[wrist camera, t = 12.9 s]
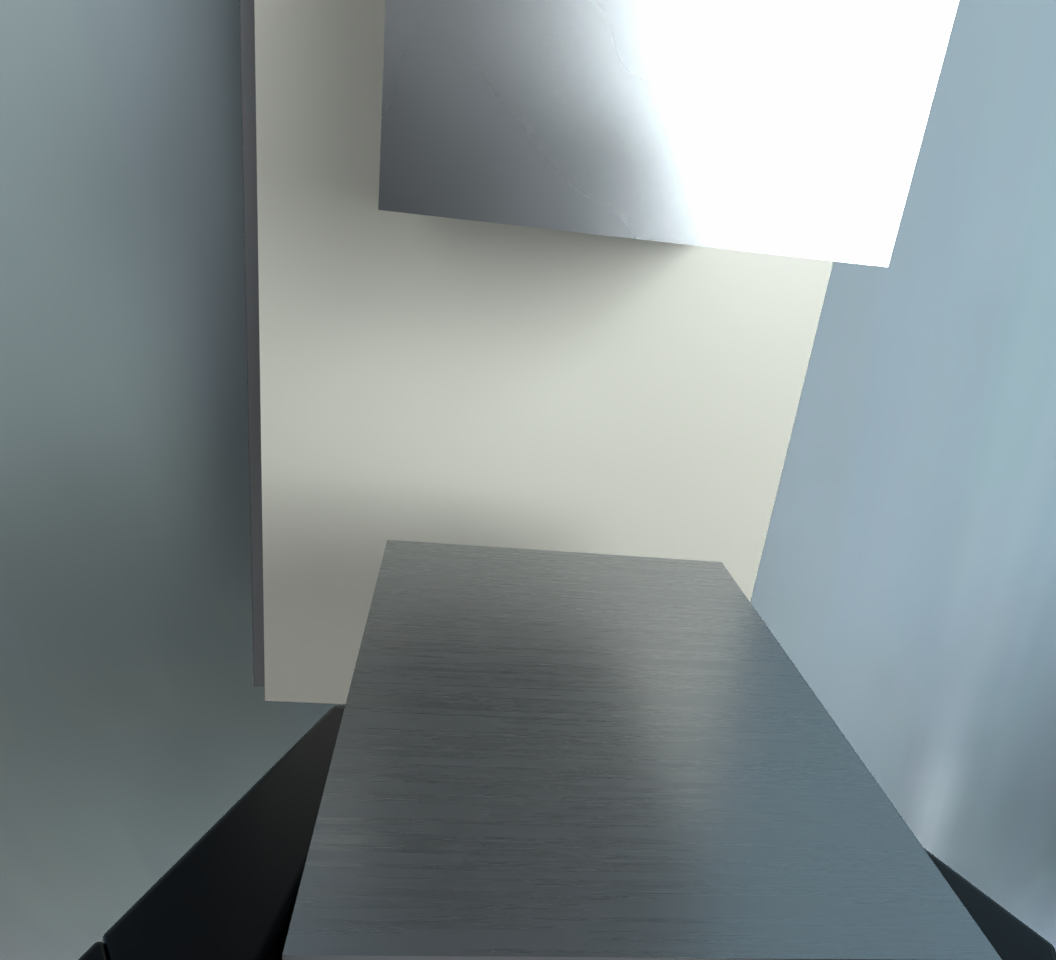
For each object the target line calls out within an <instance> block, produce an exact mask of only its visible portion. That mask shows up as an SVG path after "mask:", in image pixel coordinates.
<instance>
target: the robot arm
mask: <svg viewBox="0 0 1056 960" xmlns="http://www.w3.org/2000/svg"><path fill="white" fill-rule="evenodd" d="M344 709H345V706H344V705H339V706H335V707H333V708H332V709H330V710H329V711H328V712H327V713H326V714H325V715H324V716H323V717H322V718H321V719H320V720H319V721H318V722H317V723H316V724H315V725H314V726H313V727H312V728H311V729H310V730H309V731H308V732H307V733H306V734H305V735H304V736H303V737H302V738H301V739H300V740H299V741H298V742H297V743H296V744H295V745H294V746H293V747H292V748H291V749H290V750H289V751H288V752H287V753H286V754H285V755H284V756H283V757H282V758H281V759H280V760H279V761H278V762H277V763H276V764H275V765H274V766H273V767H272V768H271V769H270V770H269V771H268V772H267V773H266V774H265V775H264V776H263V777H262V778H261V779H260V780H259V781H258V782H257V783H256V784H255V785H254V786H253V787H252V788H251V789H250V790H249V791H248V792H247V793H246V794H245V795H244V796H243V797H242V798H241V799H240V800H239V801H238V802H237V803H236V804H235V805H234V806H233V807H232V808H231V809H230V810H229V811H228V812H227V813H226V814H225V815H224V816H223V817H222V818H221V819H220V820H219V821H218V822H217V823H216V824H215V825H214V826H213V827H212V828H211V829H210V830H209V831H208V832H207V833H206V834H205V835H204V836H203V837H202V838H201V839H200V840H199V841H198V842H197V843H196V844H195V845H194V846H193V847H192V848H191V849H190V850H189V851H188V852H187V853H186V854H185V855H184V856H183V857H182V858H181V859H180V860H179V861H178V862H177V863H176V864H175V865H174V866H172V867H171V868H170V869H169V870H168V871H167V872H166V873H165V874H164V875H163V876H162V877H161V878H160V879H159V880H158V881H157V882H156V883H155V884H154V885H153V886H152V887H151V888H150V889H149V890H148V891H147V892H146V893H145V894H144V895H143V896H142V897H141V898H140V899H139V900H138V901H137V902H136V903H135V904H134V905H133V906H132V907H131V908H130V909H129V910H128V911H127V912H126V913H125V914H124V915H123V916H122V917H121V918H120V919H119V920H118V921H117V922H116V923H115V924H114V925H113V926H112V927H111V928H110V929H109V930H108V931H107V932H106V933H105V934H104V936H103V943H102V942H96V943H95V944H93V945H92V946H91V947H90V948H89V950H88V951H87V952H85V953H84V954H83V955H82V956H81V957H80V958H79V959H78V960H282V954H283V950H284V946H285V942H286V938H287V934H288V930H289V926H290V922H291V919H292V915H293V911H294V907H295V903H296V899H297V895H298V891H299V887H300V883H301V879H302V875H303V871H304V867H305V863H306V859H307V855H308V851H309V847H310V843H311V839H312V835H313V831H314V827H315V823H316V820H317V816H318V812H319V808H320V804H321V800H322V796H323V792H324V788H325V784H326V780H327V776H328V772H329V768H330V764H331V760H332V756H333V752H334V748H335V744H336V740H337V736H338V732H339V728H340V724H341V720H342V717H343V713H344ZM924 850H925V851H926V853H927V854H928V855H929V857H930V858H931V860H932V861H933V863H934V864H935V865H936V867H937V868H938V870H939V871H940V872H941V874H942V875H943V877H944V878H945V880H946V881H947V882H948V884H949V885H950V887H951V888H952V890H953V891H954V892H955V894H956V895H957V897H958V898H959V899H960V901H961V902H962V904H963V905H964V907H965V908H966V909H967V911H968V912H969V914H970V915H971V916H972V918H973V919H974V921H975V922H976V924H977V925H978V926H979V928H980V929H981V931H982V932H983V933H984V935H985V936H986V938H987V939H988V941H989V942H990V943H991V945H992V946H993V948H994V949H995V951H996V952H997V953H998V955H999V956H1000V958H1001V959H1002V960H1056V951H1055V948H1054V947H1053V945H1052V944H1050V943H1049V942H1048V941H1046V940H1045V939H1044V938H1042V937H1041V936H1040V935H1038V934H1037V933H1036V932H1034V931H1033V930H1032V929H1030V928H1029V927H1028V926H1026V925H1025V924H1024V923H1023V922H1021V921H1020V920H1019V919H1017V918H1016V917H1015V916H1013V915H1012V914H1011V913H1009V912H1008V911H1007V910H1005V909H1004V908H1003V907H1001V906H1000V905H999V904H997V903H996V902H995V901H993V900H992V899H991V898H989V897H988V896H987V895H985V894H984V893H983V892H981V891H980V890H979V889H977V888H976V887H975V886H973V885H972V884H971V883H969V882H968V881H967V880H965V879H964V878H963V877H962V876H960V875H959V874H958V873H956V872H955V871H954V870H952V869H951V868H950V867H948V866H947V865H946V864H944V863H943V862H942V861H940V860H939V859H938V858H936V857H935V856H934V855H932V854H931V853H930V852H928V851H927V850H926V849H924Z"/></svg>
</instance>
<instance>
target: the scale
mask: <svg viewBox="0 0 1056 960" xmlns="http://www.w3.org/2000/svg"><path fill="white" fill-rule="evenodd" d="M385 4H386V0H240V45H241V92H242V139H243V186H244V233H245V280H246V327H247V374H248V421H249V468H250V515H251V562H252V609H253V656H254V686H265V701H280V702H304V703H327V704H346V701H347V697H348V693H349V689H350V685H351V681H352V677H353V673H354V669H355V665H356V661H357V657H358V653H359V649H360V645H361V641H362V637H363V633H364V629H365V625H366V621H367V618H368V614H369V610H370V606H371V602H372V598H373V594H374V590H375V586H376V582H377V578H378V574H379V570H380V566H381V562H382V558H383V554H384V550H385V546H386V542H387V540H397V541H412V542H427V543H442V544H457V545H472V546H487V547H502V548H517V549H532V550H547V551H562V552H577V553H593V554H608V555H623V556H638V557H653V558H668V559H683V560H698V561H713V562H722V563H723V565H724V566H725V568H726V569H727V570H728V572H729V573H730V575H731V576H732V577H733V579H734V580H735V582H736V583H737V585H738V586H739V587H740V589H741V590H742V592H743V593H744V594H745V596H746V597H747V599H748V600H749V602H751V598H752V594H753V589H754V585H755V581H756V577H757V573H758V569H759V565H760V561H761V557H762V553H763V548H764V544H765V540H766V536H767V532H768V528H769V524H770V520H771V516H772V512H773V507H774V503H775V499H776V495H777V491H778V487H779V483H780V479H781V475H782V471H783V466H784V462H785V458H786V454H787V450H788V446H789V442H790V438H791V434H792V430H793V425H794V421H795V417H796V413H797V409H798V405H799V401H800V397H801V393H802V389H803V384H804V380H805V376H806V372H807V368H808V364H809V360H810V356H811V352H812V348H813V343H814V339H815V335H816V331H817V327H818V323H819V319H820V315H821V311H822V307H823V302H824V298H825V294H826V290H827V286H828V282H829V278H830V274H831V270H832V266H833V261H826V260H818V259H809V258H800V257H791V256H782V255H773V254H764V253H756V252H747V251H738V250H729V249H720V248H711V247H702V246H694V245H685V244H676V243H667V242H658V241H649V240H641V239H632V238H623V237H614V236H605V235H596V234H587V233H579V232H570V231H561V230H552V229H543V228H534V227H525V226H517V225H508V224H499V223H490V222H481V221H472V220H464V219H455V218H446V217H437V216H428V215H419V214H410V213H402V212H393V211H384V210H378V202H379V174H380V145H381V117H382V89H383V61H384V32H385Z"/></svg>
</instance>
